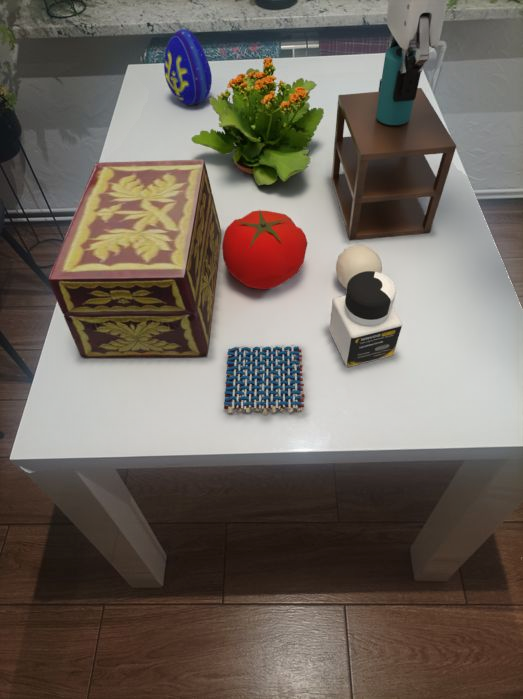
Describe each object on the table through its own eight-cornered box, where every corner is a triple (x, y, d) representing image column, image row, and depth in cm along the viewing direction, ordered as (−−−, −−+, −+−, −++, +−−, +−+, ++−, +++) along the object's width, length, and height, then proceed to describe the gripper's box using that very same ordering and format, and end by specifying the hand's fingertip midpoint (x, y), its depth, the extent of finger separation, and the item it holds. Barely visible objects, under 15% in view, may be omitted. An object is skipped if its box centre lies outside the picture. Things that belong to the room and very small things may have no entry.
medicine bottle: (346, 368, 66) (356, 311, 56) (328, 330, 70) (334, 271, 60) (393, 356, 67) (411, 298, 57) (373, 319, 71) (387, 259, 61)
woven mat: (305, 415, 62) (305, 407, 60) (224, 415, 62) (222, 408, 60) (302, 350, 68) (302, 342, 66) (228, 351, 68) (227, 343, 67)
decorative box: (119, 233, 85) (91, 157, 73) (222, 231, 84) (210, 153, 72) (80, 358, 69) (36, 286, 57) (207, 357, 68) (190, 284, 56)
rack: (402, 172, 92) (421, 87, 79) (429, 233, 81) (456, 145, 69) (331, 179, 92) (338, 94, 79) (349, 240, 81) (361, 154, 68)
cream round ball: (365, 262, 78) (371, 230, 72) (384, 293, 74) (392, 261, 68) (327, 272, 77) (330, 240, 72) (344, 303, 73) (348, 272, 67)
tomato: (222, 301, 74) (214, 250, 66) (227, 248, 81) (220, 195, 73) (307, 300, 74) (310, 248, 65) (305, 246, 81) (307, 193, 72)
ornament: (163, 102, 113) (148, 31, 101) (191, 87, 117) (180, 17, 105) (194, 116, 109) (183, 43, 97) (223, 100, 113) (215, 28, 100)
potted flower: (179, 187, 93) (160, 95, 79) (215, 124, 106) (204, 37, 92) (305, 201, 88) (309, 107, 74) (325, 134, 102) (332, 44, 88)
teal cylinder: (405, 106, 75) (418, 41, 68) (414, 123, 72) (428, 57, 65) (372, 109, 75) (382, 44, 68) (380, 126, 72) (391, 60, 65)
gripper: (485, -50, 51) (440, 117, 65) (436, -89, 61) (407, 63, 76) (415, -44, 51) (387, 122, 65) (379, -85, 61) (361, 67, 75)
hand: (398, 89), depth 70 cm, fingers closed on teal cylinder, 5 cm apart
